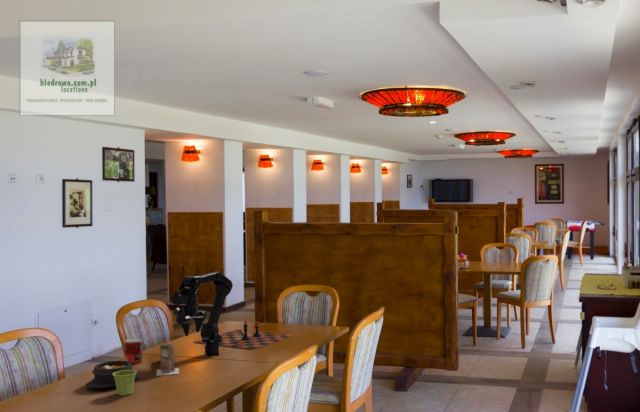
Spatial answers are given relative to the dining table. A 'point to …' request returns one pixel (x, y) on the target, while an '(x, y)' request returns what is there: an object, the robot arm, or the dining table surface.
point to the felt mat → (167, 373)
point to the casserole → (108, 373)
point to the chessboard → (248, 338)
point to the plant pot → (124, 381)
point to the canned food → (133, 350)
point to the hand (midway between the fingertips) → (192, 334)
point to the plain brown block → (167, 357)
